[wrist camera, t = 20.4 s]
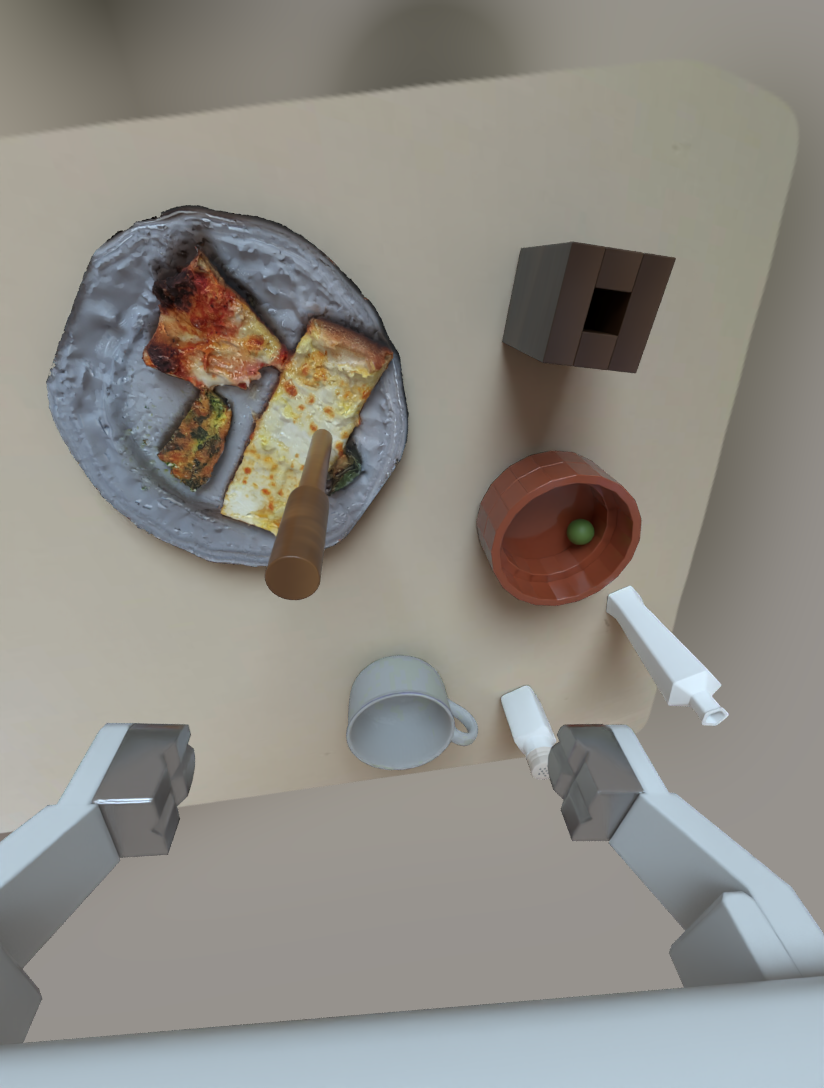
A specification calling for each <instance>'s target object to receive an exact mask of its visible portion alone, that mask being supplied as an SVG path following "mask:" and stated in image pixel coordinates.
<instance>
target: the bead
mask: <svg viewBox="0 0 824 1088" xmlns="http://www.w3.org/2000/svg"><path fill="white" fill-rule="evenodd" d="M567 537H568V539H569V540H570V541H571V542H572V543H574V544H576V545H584V544H587V543H589V542H590V541H591V540H592V538H593V537H594V527H593V525H592V524H591V523H590V522H589V521H587V520H585V519H577V520H574V521H572V522H571V523H570V524H569V525H568V527H567Z"/></svg>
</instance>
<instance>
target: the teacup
mask: <svg viewBox="0 0 824 1088" xmlns="http://www.w3.org/2000/svg"><path fill="white" fill-rule="evenodd" d="M453 716H454V717H455V718H457V719H458V720H459V721H460V722H462V723H463V725H464V726H465V727H466V728H467V730H468V733H464V732H461V731H459V730H458V729H457V728H456V727H455V722H454V717H453ZM477 734H478V726H477V723H476V721H475V719H474V718H473V716H472V715H471V714H470V713H469V712H468V711H467V710H465V709H464V708H463V707H461V706H459V705H458V704H456V703H454V702H452V701H451V700H449V699H448V697H447V693H446V690H445V686H444V684H443V681H442V679H441V677H440V675H439V674H438V672H437V671H436V670H435V669H434V668H433V667H432V666H431V665H429V664H428V663H426V662H425V661H423V660H421V659H418V658H416V657H412V656H404V655H397V656H389V657H385V658H382V659H379V660H377V661H375V662H373V663H371V664H370V665H368V666H367V667H366V668H365V669H363V670H362V671H361V673H360V674H359V675H358V676H357V678H356V680H355V681H354V684H353V686H352V689H351V693H350V699H349V711H348V727H347V732H346V738H347V743H348V746H349V748H350V750H351V751H352V753H353V754H354V755H355V756H356V757H357V758H358V759H359V760H361V761H362V762H364V763H366V764H368V765H370V766H372V767H375V768H379V769H385V770H405V769H411V768H415V767H418V766H421V765H424V764H426V763H428V762H430V761H432V760H433V759H435V758H436V757H438V756H439V755H440V754H441V753H442V752H443V751H444V750H445V749H446V748H447V747H448V745H449V744H450V742H453V743H455V744H457V745H461V746H467V745H470V744H472V743H473V742H474V740H475V739H476V737H477Z"/></svg>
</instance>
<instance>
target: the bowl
mask: <svg viewBox="0 0 824 1088" xmlns="http://www.w3.org/2000/svg"><path fill="white" fill-rule="evenodd" d="M577 519H585V520H587V521H589V522H590V523H591V524H592V525H593V527H594V537H593V538H592V540H591V541H590V542H589V543H587V544H584V545H576V544H574V543H572V542H571V541H570V540H569V539H568V537H567V527H568V525H569V524H570V523H571V522H572V521H574V520H577ZM477 528H478V535H479V540H480V542H481V545H482V547H483V549H484V551H485V554H486V556H487V558H488V560H489V563H490V565H491V567H492V570H493V572H494V574H495V575H496V577H497V579H498V581H499V582H500V584H501V586H502V587H503V588H504V589H505V590H506V591H508V592H509V593H510V594H511V595H513V596H514V597H515V598H517V599H519V600H522V601H525V602H528V603H531V604H534V605H548V606H556V605H557V606H558V605H563V604H568V603H572V602H577V601H580V600H582V599H584V598H586V597H588V596H590V595H592V594H595V593H597V592H599V591H600V590H601V589H603V588H604V587H605V586H606V585H608V584H609V583H610V582H612V581H613V580H614V579H615V578H617V577H618V576H619V574H620V573H621V572H622V571H623V569H624V568H625V567H626V566H627V564H628V563H629V562H630V561H631V559H632V557H633V555H634V552H635V550H636V548H637V545H638V543H639V541H640V531H641V516H640V513H639V510H638V507H637V504H636V501H635V499H634V498H633V497H632V496H631V495H630V494H629V493H628V492H627V490H626V489H625V488H624V487H623V486H622V485H621V484H620V483H618V482H617V481H616V480H615V479H613V478H612V477H611V476H610V475H609V474H607V473H606V472H605V471H604V470H603V469H601V468H600V467H599V466H598V465H596V464H595V463H594V462H593V461H591V460H589V459H587V458H585V457H583V456H581V455H579V454H576V453H573V452H564V451H548V452H543V453H539V454H534V455H530V456H528V457H526V458H524V459H522V460H520V461H518V462H517V463H515V464H513V465H511V466H509V468H507V469H506V470H505V471H504V472H503V473H502V474H501V475H500V476H499V477H498V478H497V479H496V480H495V481H494V482H493V483H492V484H491V486H490V487H489V489H488V491H487V492H486V494H485V496H484V498H483V499H482V501H481V504H480V508H479V513H478V518H477Z"/></svg>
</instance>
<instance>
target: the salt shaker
mask: <svg viewBox="0 0 824 1088" xmlns="http://www.w3.org/2000/svg"><path fill="white" fill-rule="evenodd" d="M501 703H502V706H503V709H504V712H505V715H506V718H507V721H508V724H509V727H510V730H511V733H512V736H513V739H514V742H515V743H516V745H517V746H518V748H519V749H520V750H521V752H522V753H523V754H525V755H526V760H527V762H528V765H529V768H530V771H531V774H532V776H533V777H535V778H536V779H542V780H543V779H544V780H545V779H549V772H548V755H549V752H550V750H551V747H552V746H553V745H554V744H555V742H556V738H555V736H554V733H553V731H552V729H551V726H550V724H549V721H548V719H547V717H546V714H545V712H544V709H543V707H542V705H541V702H540V700H539V699H538V697H537V696H536V694H535V693H534V691H533V690H532V688H531V687H530V686H528V685H526V686H523V687H521V688H518V689H516V690H514V691H512V692H510V693H507V694H505V695H503V696H502V697H501Z"/></svg>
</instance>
